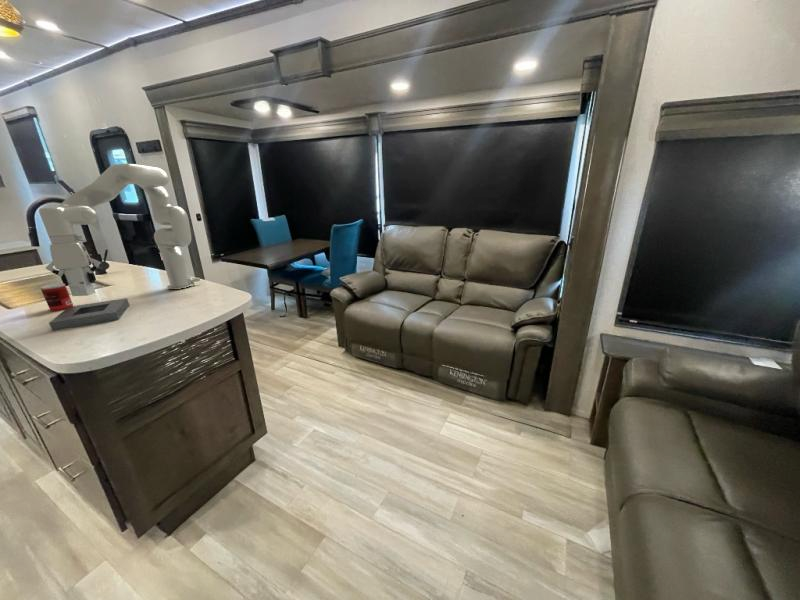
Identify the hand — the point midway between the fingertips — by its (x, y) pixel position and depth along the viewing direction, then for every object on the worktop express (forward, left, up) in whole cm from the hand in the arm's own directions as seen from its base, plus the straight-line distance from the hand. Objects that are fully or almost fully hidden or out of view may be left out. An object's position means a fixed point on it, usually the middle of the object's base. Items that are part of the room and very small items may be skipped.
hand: (80, 283), depth 129 cm
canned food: (+17, -23, -15) cm, 32 cm away
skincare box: (0, 0, -5) cm, 5 cm away
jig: (0, 0, -15) cm, 15 cm away
